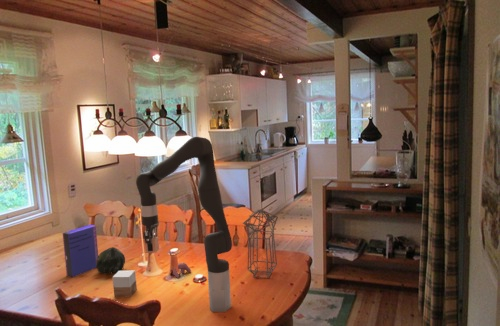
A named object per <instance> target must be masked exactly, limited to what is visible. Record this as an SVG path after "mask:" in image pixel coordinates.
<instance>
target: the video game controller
mask: <svg viewBox="0 0 500 326" xmlns="http://www.w3.org/2000/svg"><path fill="white" fill-rule="evenodd" d="M177 264H178V269H179V271H180V274H182V273H183V274H185V271H186V272H188V273H189V274H190V273H191V272H192V270H191V268H190V267H189V265H188V264H187V263H185V262H180V263H177ZM172 275H175V276H176V277H177V278H176V277H175V276H174V277H175V278H176V279H179V278H180V275H179V274H178V273H177V271H176V269H174V270H173V273H172Z"/></svg>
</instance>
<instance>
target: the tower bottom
mask: <svg viewBox="0 0 500 326" xmlns="http://www.w3.org/2000/svg"><path fill="white" fill-rule="evenodd" d="M137 290H138V289H137V280H136V281H135V282H134V283H133V284H132V285H131V287H113V295H114V296H113V297H114V298H131V297H133V295H134V294H135V293H136V291H137Z"/></svg>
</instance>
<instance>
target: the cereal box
mask: <svg viewBox="0 0 500 326" xmlns="http://www.w3.org/2000/svg"><path fill="white" fill-rule="evenodd" d="M62 241H63V249H64V250H63V252H64V261H65V272H66V277H69V278H74V277H76V276H80V275H82V274H85V273H87V272H90V271H91V270H94V269H97V266H96V261H97V258H98V256H99V249H98V248H99V247H98V237H97V227H96V225H94V224H89V225H84V226H82V227H78V228H75V229H72V230H68V231H65V232H62Z"/></svg>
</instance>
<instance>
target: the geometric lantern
mask: <svg viewBox="0 0 500 326" xmlns="http://www.w3.org/2000/svg"><path fill="white" fill-rule="evenodd" d="M270 215H271V216H270ZM252 218H255V220H254V221H253V223H251V220H252ZM263 219H265V221H263ZM257 220H258V224H255V223H256V221H257ZM277 221H278V216H277V215H274V214H272V213H270V212H268V211H265V210H264V209H262V208H260V209H257V210H255V211H254V212H253V213H251V214H250V215H248V218H247V219H246V220H245V221H242V225H245V226H246V232H247V238H248V247H247V249H248V251H247V271H249V272H250V273H251V274H253V275H252V278H255V279H270V278H271V274H272V273H273V271H274V270H275V268H276V267H277V265H278V261H277V251H276V243H275V242H276V241H275V231H274V230H275V226H276V223H277ZM262 223H263V224H262ZM254 227H257V228H256V229H254ZM260 227H262V228H260ZM268 227H269V228H270V230H271V231H270V230H267V231H266V230H264V229H266V228H268ZM249 228H250V229H251V230H252V231H251V232H250V233H249ZM258 232H260V234H261V235H262V237H263V238H262V237H258V236H259V235H258ZM263 232H264V233H270V235H269V237H267V238H266V237H265V235H264V234H263ZM255 233H256V237H255ZM251 239H252V240H251ZM255 239H256V260H254V258H255V256H254V255H255ZM259 240H265V255H266V260H265V261H264V260H263V261H262V260H258V259H259V258H258V254H259V252H258V250H259V248H258V247H259V244H258V241H259ZM267 240H268V244H267ZM268 245H269V256H270V261H269V260H268ZM271 246H272V247H271ZM274 258H275V259H274ZM255 263H256V264H258V263H266V270H259V267H258V265H255ZM269 263H270V266H269ZM273 264H274V265H273ZM252 266H254V270H253V269H252ZM256 275H259V276H256ZM260 276H261V277H260ZM262 276H263V277H262ZM264 276H266V277H264Z"/></svg>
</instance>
